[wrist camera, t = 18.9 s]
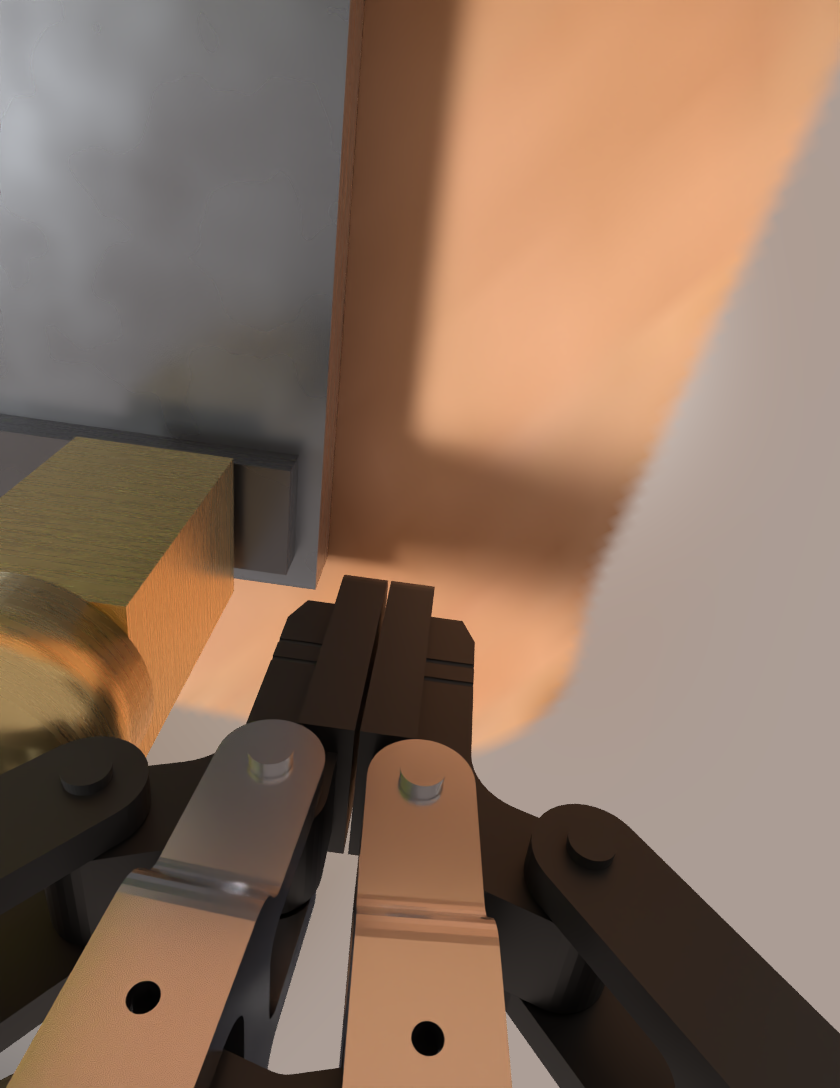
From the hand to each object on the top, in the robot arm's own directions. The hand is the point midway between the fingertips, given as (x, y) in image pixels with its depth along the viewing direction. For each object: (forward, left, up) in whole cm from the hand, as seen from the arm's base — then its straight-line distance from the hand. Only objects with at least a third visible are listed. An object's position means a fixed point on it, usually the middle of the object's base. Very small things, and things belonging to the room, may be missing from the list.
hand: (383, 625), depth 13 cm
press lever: (0, -5, -3) cm, 6 cm away
